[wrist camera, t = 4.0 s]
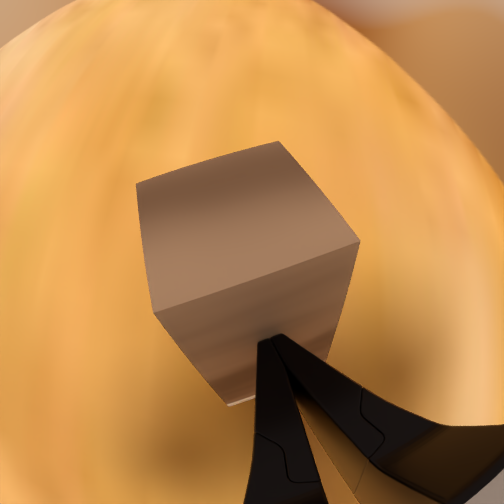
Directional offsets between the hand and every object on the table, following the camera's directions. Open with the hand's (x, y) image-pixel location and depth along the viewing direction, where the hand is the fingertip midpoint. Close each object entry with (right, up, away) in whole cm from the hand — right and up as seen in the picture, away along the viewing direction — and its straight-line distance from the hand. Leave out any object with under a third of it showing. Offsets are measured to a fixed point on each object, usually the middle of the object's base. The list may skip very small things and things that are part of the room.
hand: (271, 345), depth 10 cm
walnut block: (0, -2, +7) cm, 7 cm away
